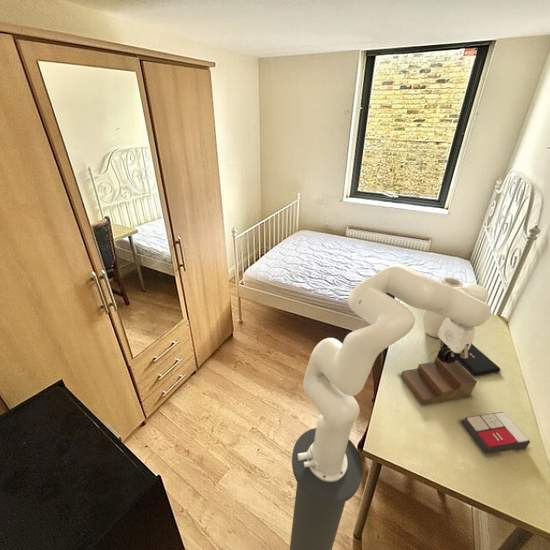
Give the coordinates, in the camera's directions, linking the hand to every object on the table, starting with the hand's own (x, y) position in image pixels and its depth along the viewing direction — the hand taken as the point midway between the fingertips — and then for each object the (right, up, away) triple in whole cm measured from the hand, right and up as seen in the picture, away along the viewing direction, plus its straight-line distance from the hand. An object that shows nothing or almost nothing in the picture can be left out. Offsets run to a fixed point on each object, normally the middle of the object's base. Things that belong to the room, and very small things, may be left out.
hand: (446, 358), depth 106 cm
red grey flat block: (+11, -24, -7) cm, 28 cm away
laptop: (+24, -7, +24) cm, 35 cm away
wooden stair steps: (+1, -14, +10) cm, 17 cm away
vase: (+16, +1, +38) cm, 41 cm away
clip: (0, 0, 0) cm, 0 cm away
